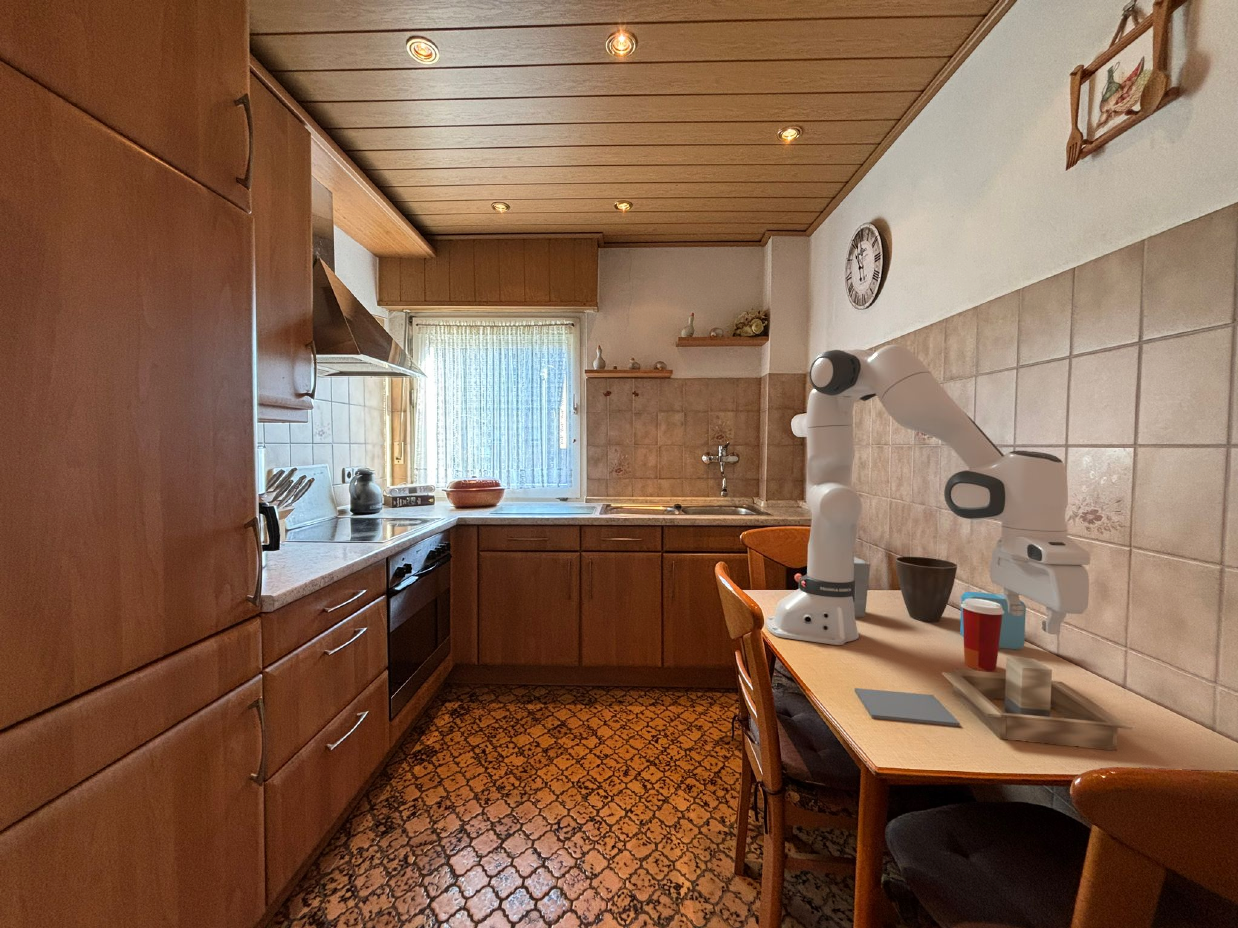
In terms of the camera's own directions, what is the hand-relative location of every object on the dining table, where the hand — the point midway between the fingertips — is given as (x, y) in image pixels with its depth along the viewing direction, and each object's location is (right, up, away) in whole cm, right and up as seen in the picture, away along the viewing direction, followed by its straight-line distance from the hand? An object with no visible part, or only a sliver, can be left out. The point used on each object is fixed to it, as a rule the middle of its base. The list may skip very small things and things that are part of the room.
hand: (1032, 623), depth 88 cm
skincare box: (-5, -16, +58) cm, 60 cm away
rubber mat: (-20, -17, +4) cm, 26 cm away
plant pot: (+14, -16, +55) cm, 59 cm away
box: (-1, -17, +1) cm, 17 cm away
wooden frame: (-1, -17, +1) cm, 17 cm away
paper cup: (+7, -17, +23) cm, 29 cm away
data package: (+19, -17, +36) cm, 44 cm away
